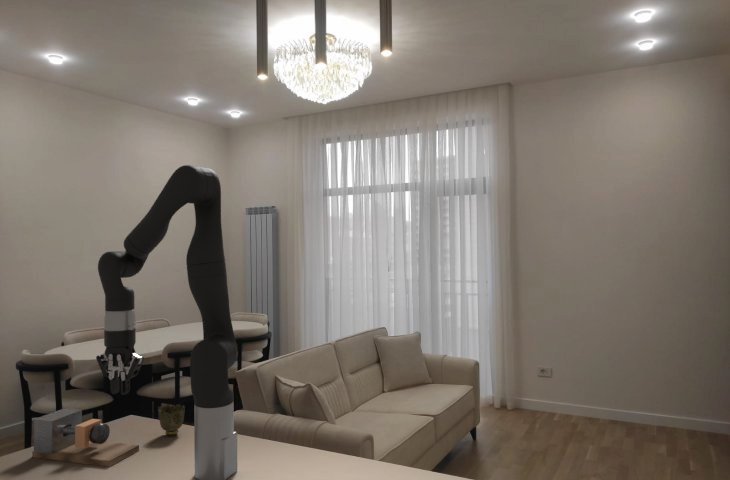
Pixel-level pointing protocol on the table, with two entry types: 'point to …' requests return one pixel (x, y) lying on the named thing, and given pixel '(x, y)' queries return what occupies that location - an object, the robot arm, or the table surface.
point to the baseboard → (92, 453)
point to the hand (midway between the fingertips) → (120, 393)
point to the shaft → (93, 432)
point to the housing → (55, 430)
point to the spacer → (84, 433)
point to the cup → (171, 418)
